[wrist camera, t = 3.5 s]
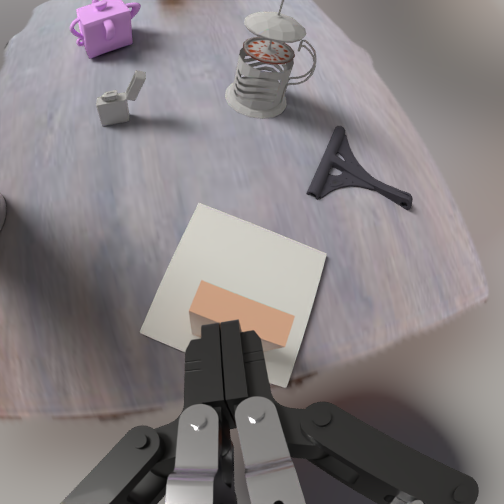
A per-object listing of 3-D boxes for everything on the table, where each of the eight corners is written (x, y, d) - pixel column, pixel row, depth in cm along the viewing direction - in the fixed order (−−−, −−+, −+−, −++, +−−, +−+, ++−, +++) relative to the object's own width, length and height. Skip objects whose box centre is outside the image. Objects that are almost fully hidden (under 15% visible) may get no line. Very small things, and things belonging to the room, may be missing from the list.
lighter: (101, 126, 38) (90, 85, 31) (102, 118, 39) (92, 77, 31) (149, 118, 40) (145, 75, 33) (149, 110, 41) (145, 68, 33)
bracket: (397, 248, 40) (408, 240, 38) (304, 196, 40) (311, 185, 38) (410, 177, 46) (419, 168, 43) (333, 131, 46) (340, 119, 43)
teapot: (70, 37, 46) (62, 0, 36) (129, 17, 50) (127, -20, 41) (82, 74, 42) (71, 29, 32) (154, 49, 46) (153, 4, 37)
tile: (191, 334, 31) (188, 310, 18) (199, 314, 31) (202, 277, 19) (247, 355, 31) (285, 347, 18) (254, 335, 32) (295, 313, 19)
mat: (140, 333, 30) (139, 332, 30) (198, 205, 36) (199, 202, 36) (284, 387, 31) (286, 388, 30) (324, 255, 37) (326, 253, 36)
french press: (234, 73, 46) (262, -60, 23) (301, 91, 47) (353, -35, 24) (216, 108, 42) (243, -50, 19) (293, 129, 43) (357, -19, 20)
